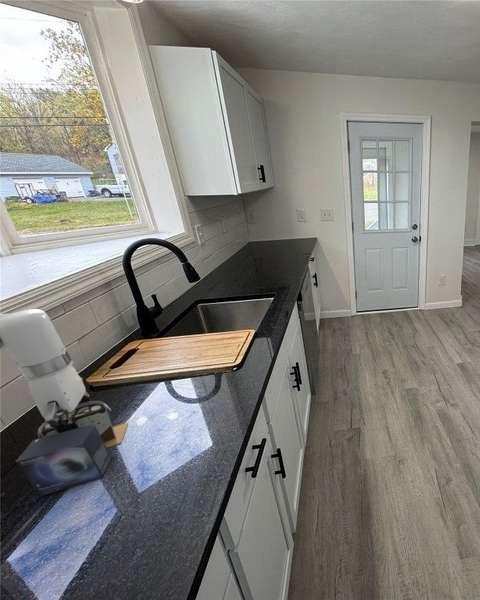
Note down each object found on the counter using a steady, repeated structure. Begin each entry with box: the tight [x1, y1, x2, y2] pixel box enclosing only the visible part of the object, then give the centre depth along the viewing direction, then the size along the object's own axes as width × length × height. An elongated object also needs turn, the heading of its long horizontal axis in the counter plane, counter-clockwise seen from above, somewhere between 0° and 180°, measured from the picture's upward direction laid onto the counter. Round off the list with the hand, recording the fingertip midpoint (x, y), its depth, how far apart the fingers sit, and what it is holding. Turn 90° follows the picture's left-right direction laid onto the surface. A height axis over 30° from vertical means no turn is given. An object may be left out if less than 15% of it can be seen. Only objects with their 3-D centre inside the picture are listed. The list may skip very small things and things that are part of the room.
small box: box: [15, 424, 114, 498], centre depth 67 cm, size 11×6×10 cm, turn 114°
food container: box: [37, 400, 116, 444], centre depth 76 cm, size 12×6×10 cm, turn 133°
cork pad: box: [105, 422, 129, 449], centre depth 78 cm, size 13×8×1 cm, turn 119°
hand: (80, 424), depth 76 cm, fingers open, 9 cm apart
